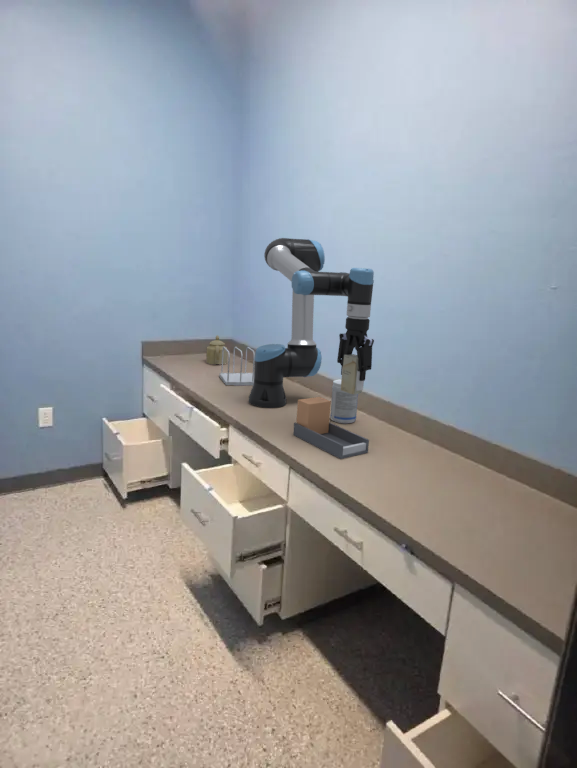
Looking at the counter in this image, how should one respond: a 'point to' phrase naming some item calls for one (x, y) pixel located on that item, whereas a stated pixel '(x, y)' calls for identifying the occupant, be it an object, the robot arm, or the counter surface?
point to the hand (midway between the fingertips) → (351, 387)
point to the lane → (334, 440)
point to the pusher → (314, 414)
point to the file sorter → (237, 377)
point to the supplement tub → (343, 404)
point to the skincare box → (350, 374)
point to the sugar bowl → (216, 352)
